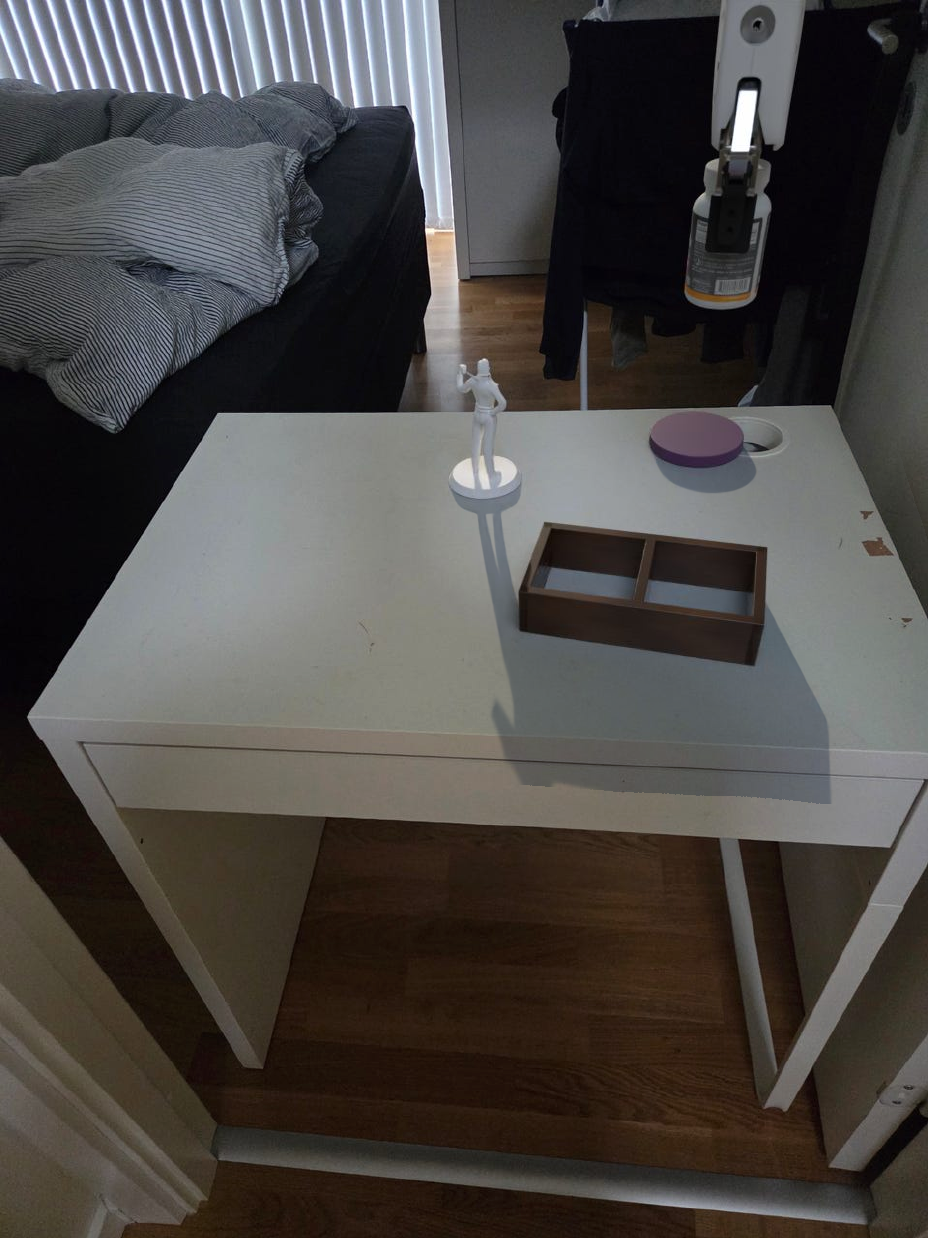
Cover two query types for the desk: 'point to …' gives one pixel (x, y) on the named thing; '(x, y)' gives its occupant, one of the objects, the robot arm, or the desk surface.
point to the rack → (646, 592)
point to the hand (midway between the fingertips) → (728, 235)
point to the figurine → (485, 471)
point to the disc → (696, 439)
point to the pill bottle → (726, 273)
